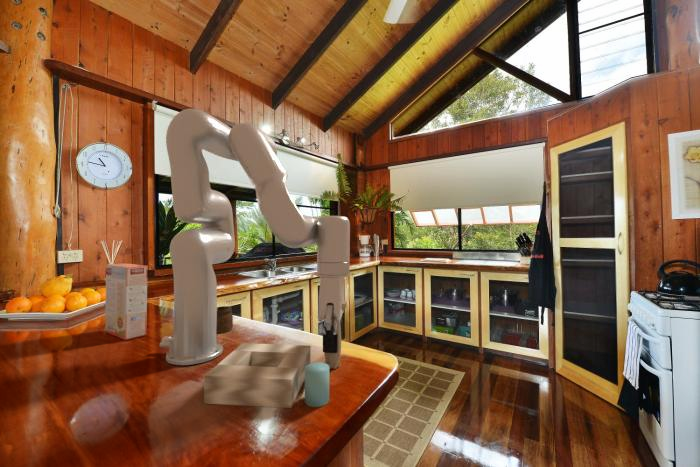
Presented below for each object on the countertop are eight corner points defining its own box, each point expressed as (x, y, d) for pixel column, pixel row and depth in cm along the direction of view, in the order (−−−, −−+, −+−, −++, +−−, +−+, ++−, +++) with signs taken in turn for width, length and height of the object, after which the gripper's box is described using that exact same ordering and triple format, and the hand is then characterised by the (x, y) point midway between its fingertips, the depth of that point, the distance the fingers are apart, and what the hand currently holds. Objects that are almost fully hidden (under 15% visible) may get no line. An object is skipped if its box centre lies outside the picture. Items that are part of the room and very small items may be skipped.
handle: (337, 374, 65) (338, 305, 65) (315, 366, 69) (315, 301, 69) (349, 366, 69) (350, 301, 69) (327, 359, 73) (328, 298, 73)
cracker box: (148, 335, 89) (148, 265, 89) (124, 341, 84) (124, 266, 84) (127, 327, 96) (127, 262, 96) (104, 332, 91) (104, 263, 91)
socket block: (204, 403, 54) (204, 375, 54) (242, 364, 70) (242, 343, 70) (291, 408, 52) (291, 379, 52) (310, 367, 68) (310, 345, 68)
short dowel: (302, 406, 53) (302, 372, 53) (307, 393, 58) (307, 361, 58) (327, 407, 53) (327, 373, 53) (330, 394, 57) (330, 362, 57)
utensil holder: (228, 333, 91) (228, 294, 91) (207, 333, 91) (207, 294, 91) (235, 327, 97) (236, 290, 97) (216, 327, 97) (216, 290, 97)
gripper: (323, 265, 78) (323, 332, 78) (309, 274, 61) (308, 360, 61) (352, 265, 77) (351, 333, 77) (346, 274, 60) (345, 361, 60)
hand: (332, 344), depth 69 cm, fingers open, 8 cm apart
